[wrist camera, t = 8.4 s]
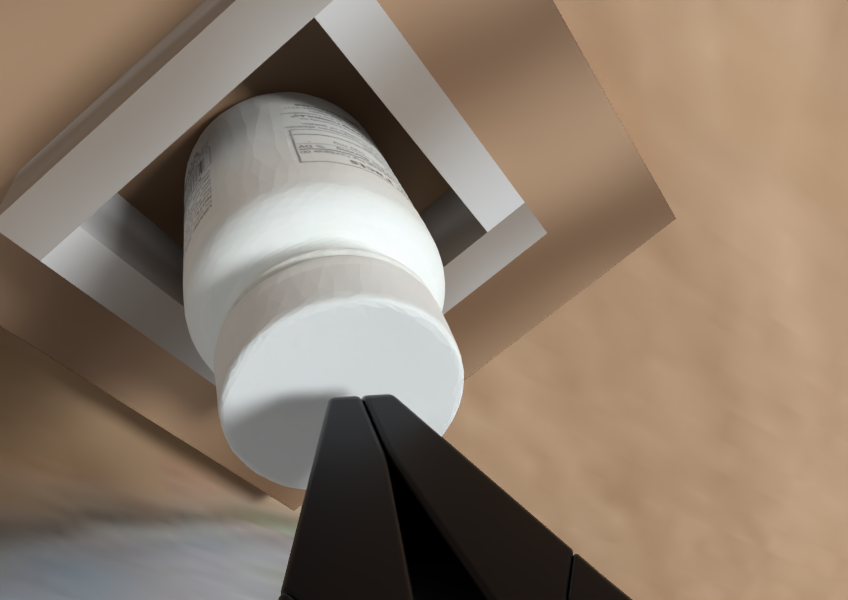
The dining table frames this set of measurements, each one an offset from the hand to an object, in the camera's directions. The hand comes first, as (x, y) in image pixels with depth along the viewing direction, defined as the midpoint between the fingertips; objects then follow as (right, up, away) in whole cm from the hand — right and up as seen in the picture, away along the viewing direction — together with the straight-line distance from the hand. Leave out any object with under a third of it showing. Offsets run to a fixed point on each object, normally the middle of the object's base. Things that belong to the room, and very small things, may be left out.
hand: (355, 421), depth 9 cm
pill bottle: (-2, +4, +7) cm, 8 cm away
